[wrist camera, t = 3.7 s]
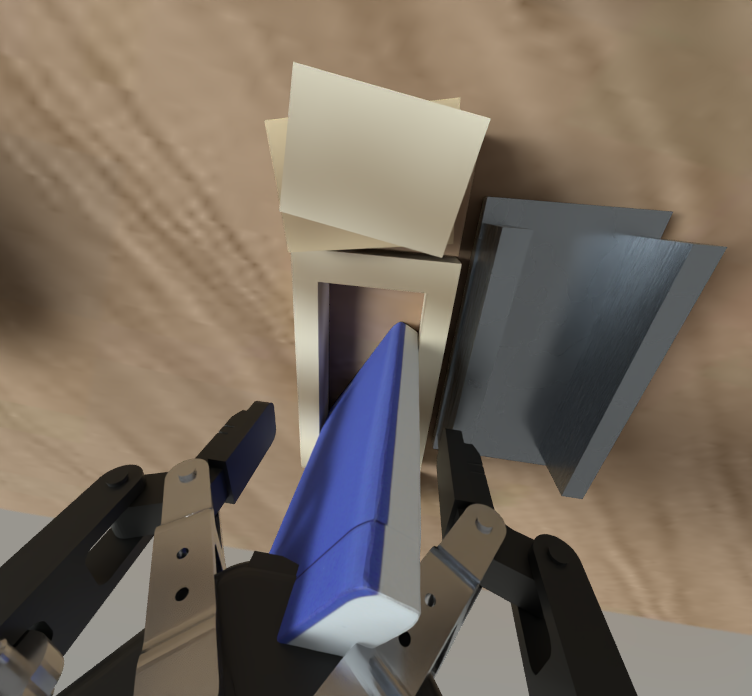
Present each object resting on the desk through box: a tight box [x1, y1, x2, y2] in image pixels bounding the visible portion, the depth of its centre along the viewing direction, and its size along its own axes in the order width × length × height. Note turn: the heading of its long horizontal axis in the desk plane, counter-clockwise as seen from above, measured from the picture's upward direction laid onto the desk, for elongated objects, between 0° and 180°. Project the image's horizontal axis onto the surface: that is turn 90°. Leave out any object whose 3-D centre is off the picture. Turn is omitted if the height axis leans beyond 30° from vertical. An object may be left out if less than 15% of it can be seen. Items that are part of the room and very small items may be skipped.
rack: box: [291, 248, 462, 469], centre depth 16 cm, size 16×7×5 cm, turn 176°
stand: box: [432, 197, 727, 499], centre depth 14 cm, size 14×7×4 cm, turn 176°
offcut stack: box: [264, 62, 490, 258], centre depth 11 cm, size 5×7×6 cm
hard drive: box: [269, 322, 421, 657], centre depth 12 cm, size 2×8×12 cm, turn 146°
